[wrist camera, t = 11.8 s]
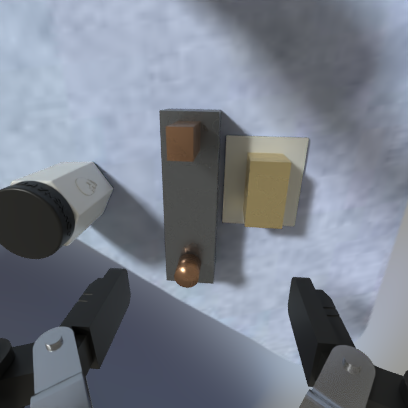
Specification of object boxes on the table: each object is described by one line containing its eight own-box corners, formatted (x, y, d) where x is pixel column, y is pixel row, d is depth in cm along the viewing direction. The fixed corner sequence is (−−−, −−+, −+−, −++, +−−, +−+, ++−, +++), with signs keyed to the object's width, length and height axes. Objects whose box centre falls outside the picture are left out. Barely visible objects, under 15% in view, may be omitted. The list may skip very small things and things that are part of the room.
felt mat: (226, 135, 33) (226, 135, 33) (307, 137, 33) (308, 138, 32) (222, 221, 38) (222, 222, 37) (293, 225, 37) (294, 226, 37)
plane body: (169, 108, 33) (142, 113, 23) (221, 109, 32) (217, 115, 22) (173, 259, 41) (155, 313, 31) (215, 262, 40) (210, 317, 30)
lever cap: (247, 152, 33) (250, 160, 29) (282, 153, 33) (291, 162, 28) (242, 210, 36) (244, 226, 32) (275, 212, 36) (281, 228, 31)
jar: (124, 200, 38) (81, 242, 27) (83, 225, 40) (28, 274, 29) (84, 146, 36) (18, 168, 24) (42, 176, 38) (-36, 208, 27)
